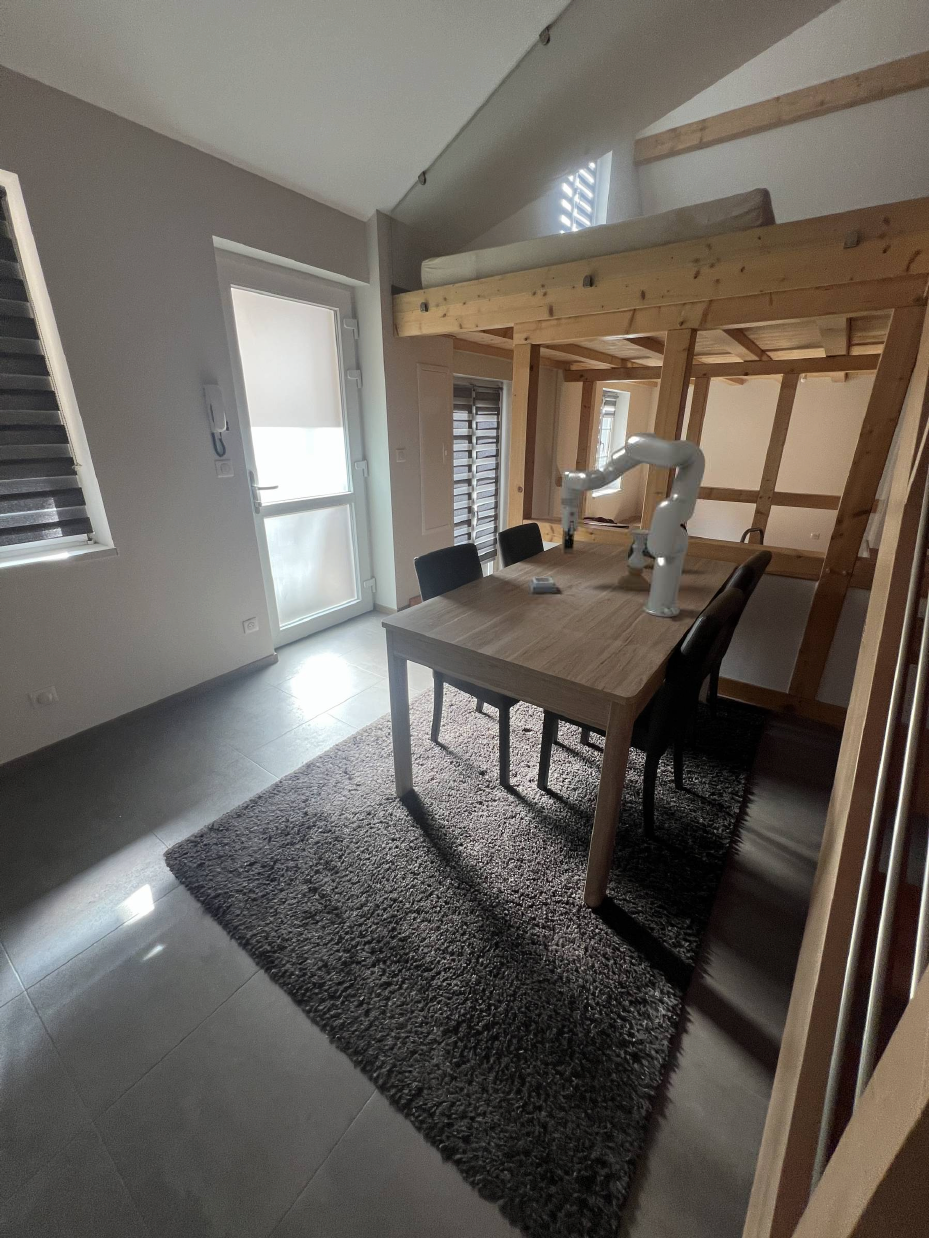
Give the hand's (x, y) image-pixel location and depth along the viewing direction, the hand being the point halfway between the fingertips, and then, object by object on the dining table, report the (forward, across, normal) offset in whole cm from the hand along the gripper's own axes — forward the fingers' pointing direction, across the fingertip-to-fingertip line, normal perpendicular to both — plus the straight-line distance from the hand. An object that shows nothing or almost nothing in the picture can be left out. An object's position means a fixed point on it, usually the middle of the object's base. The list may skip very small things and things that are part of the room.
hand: (567, 546), depth 206 cm
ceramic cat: (+18, +24, -45) cm, 54 cm away
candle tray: (+17, -5, +10) cm, 21 cm away
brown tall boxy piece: (+3, 0, 0) cm, 3 cm away
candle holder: (+18, -1, -30) cm, 35 cm away
